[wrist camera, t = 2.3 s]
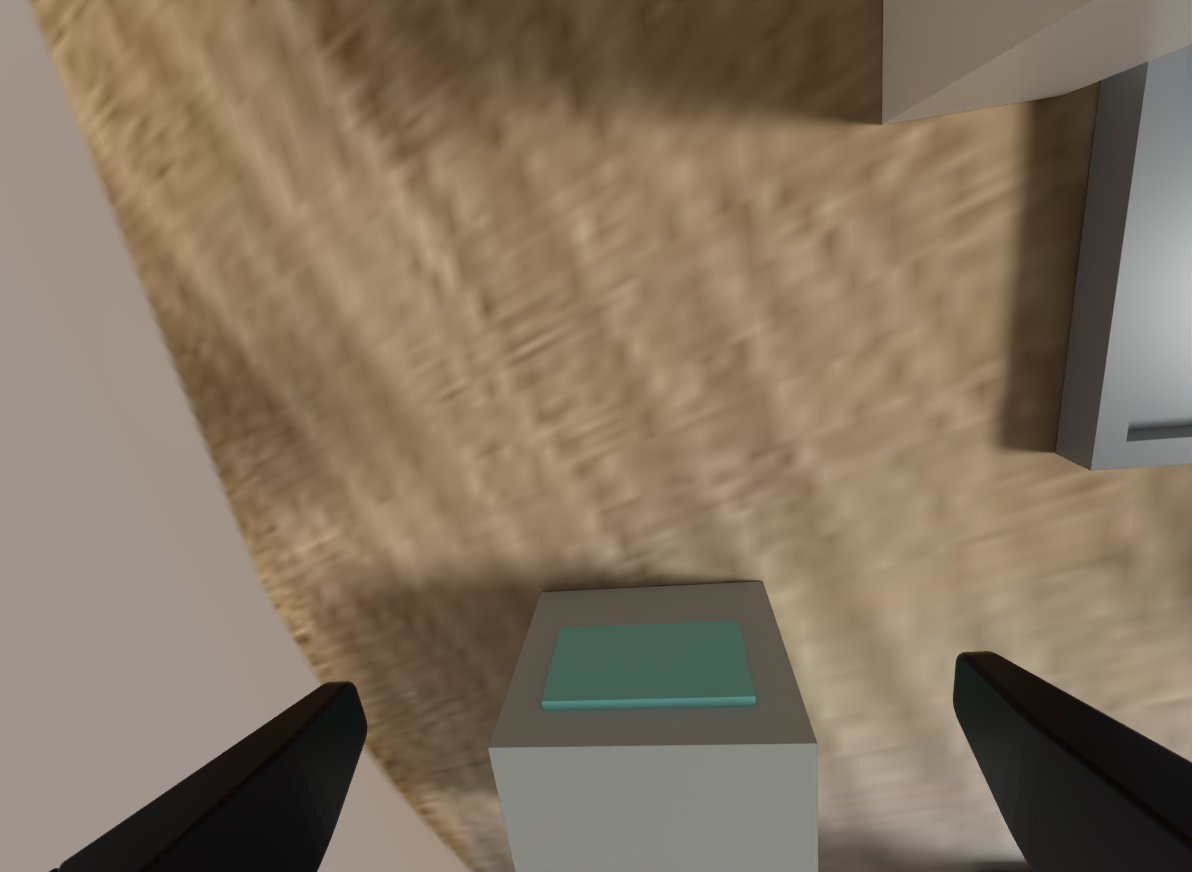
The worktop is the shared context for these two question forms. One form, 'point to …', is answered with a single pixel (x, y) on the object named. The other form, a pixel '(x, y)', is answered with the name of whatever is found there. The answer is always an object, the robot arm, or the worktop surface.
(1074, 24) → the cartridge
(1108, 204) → the tray
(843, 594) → the worktop surface
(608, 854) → the unit
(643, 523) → the worktop surface
